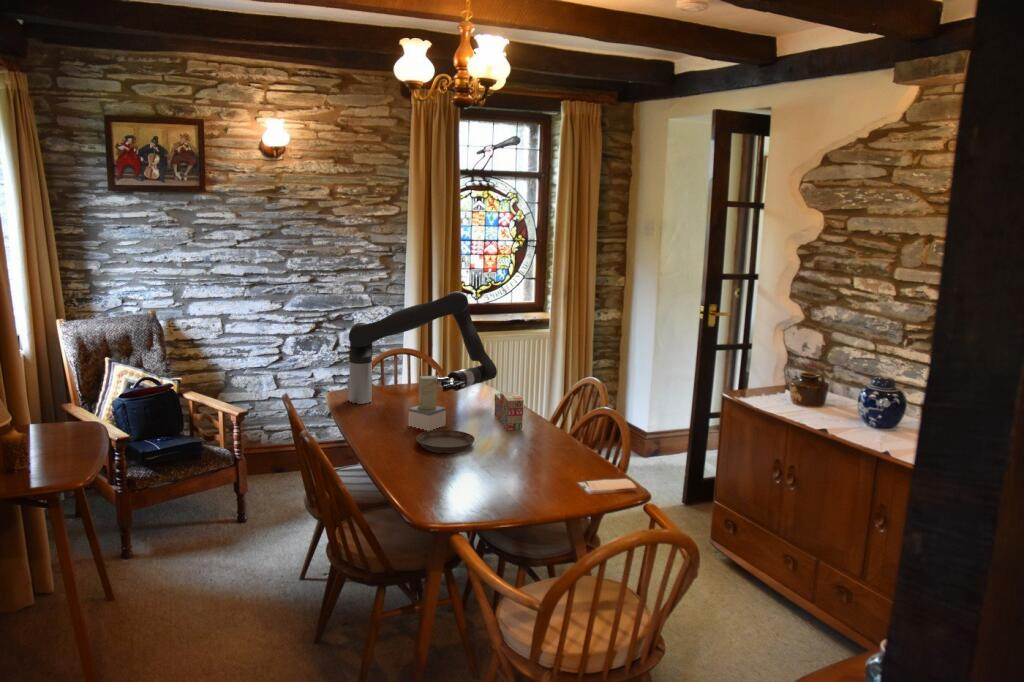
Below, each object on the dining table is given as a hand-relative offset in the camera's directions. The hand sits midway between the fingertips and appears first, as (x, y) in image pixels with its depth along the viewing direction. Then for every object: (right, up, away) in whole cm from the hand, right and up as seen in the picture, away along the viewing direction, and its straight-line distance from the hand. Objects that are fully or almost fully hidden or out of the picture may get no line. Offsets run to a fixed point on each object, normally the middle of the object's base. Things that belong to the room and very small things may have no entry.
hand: (434, 386), depth 298 cm
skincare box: (-3, -8, -2) cm, 9 cm away
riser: (-3, -15, -1) cm, 15 cm away
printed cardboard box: (+28, -15, +8) cm, 33 cm away
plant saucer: (+6, -20, -23) cm, 31 cm away
